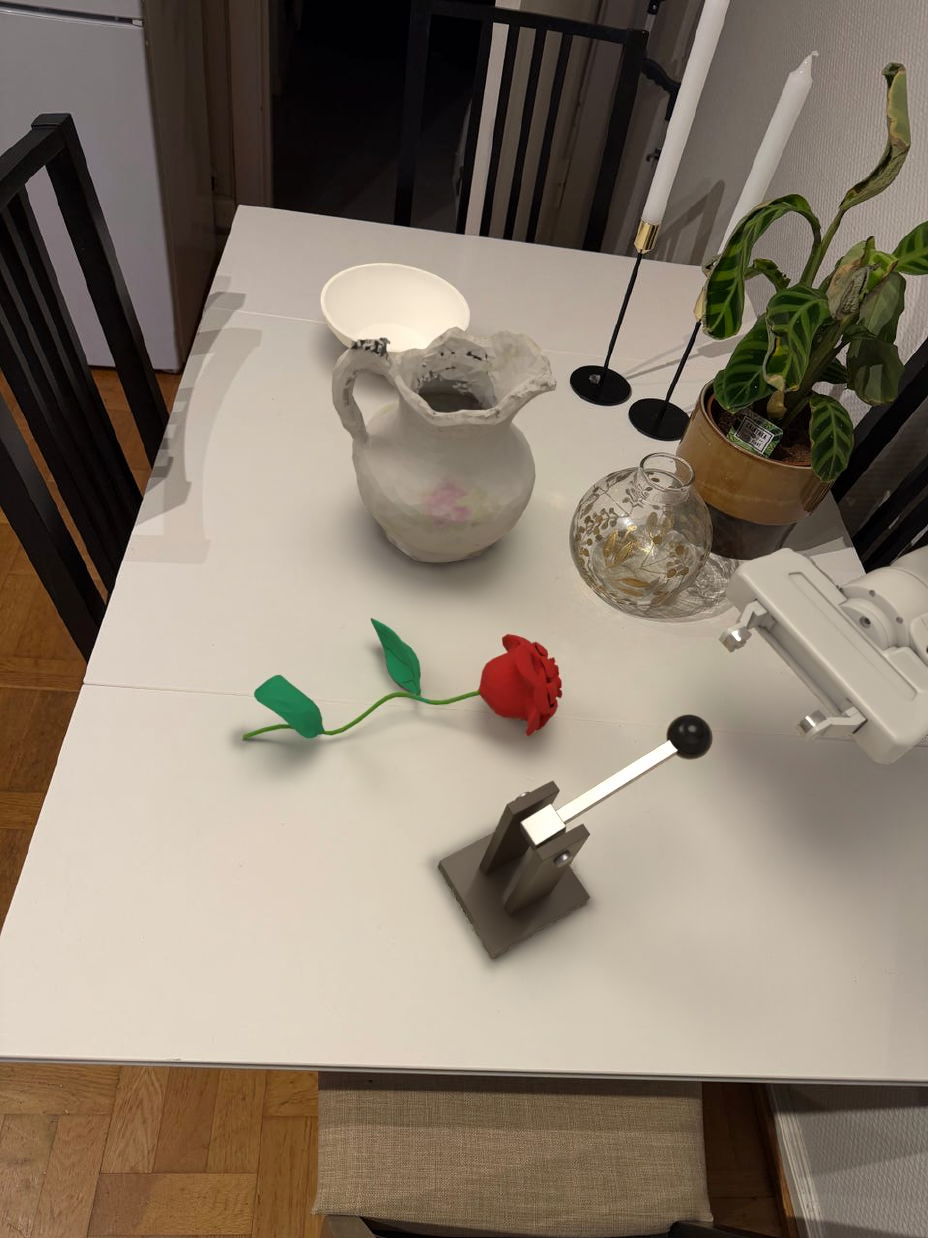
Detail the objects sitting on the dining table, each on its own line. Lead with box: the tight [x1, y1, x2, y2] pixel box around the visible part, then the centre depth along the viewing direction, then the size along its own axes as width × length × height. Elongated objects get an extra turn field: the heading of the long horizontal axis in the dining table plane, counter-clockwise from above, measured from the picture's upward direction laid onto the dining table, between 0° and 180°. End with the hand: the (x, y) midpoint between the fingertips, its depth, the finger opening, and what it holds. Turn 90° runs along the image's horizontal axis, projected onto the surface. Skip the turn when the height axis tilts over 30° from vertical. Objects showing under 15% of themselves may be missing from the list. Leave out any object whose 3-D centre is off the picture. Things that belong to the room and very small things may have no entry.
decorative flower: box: [242, 617, 563, 740], centre depth 82 cm, size 14×30×10 cm, turn 96°
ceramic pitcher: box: [331, 327, 557, 563], centre depth 90 cm, size 22×20×25 cm
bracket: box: [437, 780, 591, 960], centre depth 71 cm, size 10×9×14 cm
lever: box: [520, 713, 714, 852], centre depth 68 cm, size 17×4×4 cm, turn 121°
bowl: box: [319, 262, 471, 359], centre depth 116 cm, size 20×20×7 cm
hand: (764, 685), depth 71 cm, fingers open, 8 cm apart
